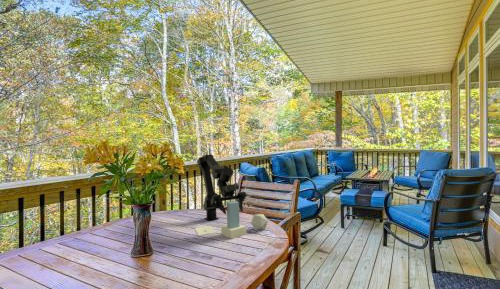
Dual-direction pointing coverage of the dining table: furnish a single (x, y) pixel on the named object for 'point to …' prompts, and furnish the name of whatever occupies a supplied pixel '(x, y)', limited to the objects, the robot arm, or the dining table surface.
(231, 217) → the blue brick
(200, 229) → the plate
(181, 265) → the dining table surface
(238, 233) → the base brick
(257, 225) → the die
